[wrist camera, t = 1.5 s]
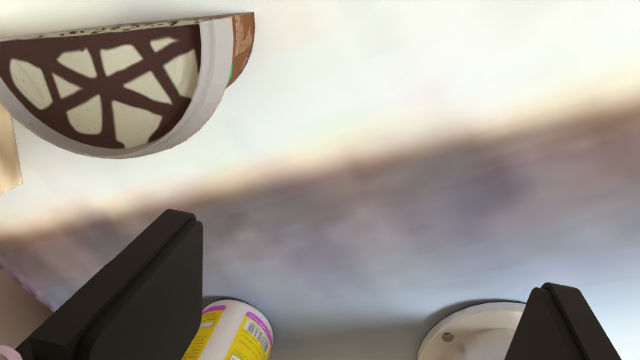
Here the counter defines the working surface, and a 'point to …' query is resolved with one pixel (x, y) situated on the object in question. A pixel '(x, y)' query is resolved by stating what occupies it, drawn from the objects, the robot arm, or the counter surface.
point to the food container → (124, 82)
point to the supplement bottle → (231, 333)
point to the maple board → (8, 154)
